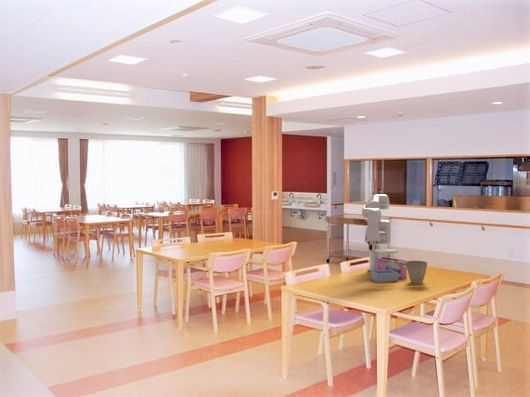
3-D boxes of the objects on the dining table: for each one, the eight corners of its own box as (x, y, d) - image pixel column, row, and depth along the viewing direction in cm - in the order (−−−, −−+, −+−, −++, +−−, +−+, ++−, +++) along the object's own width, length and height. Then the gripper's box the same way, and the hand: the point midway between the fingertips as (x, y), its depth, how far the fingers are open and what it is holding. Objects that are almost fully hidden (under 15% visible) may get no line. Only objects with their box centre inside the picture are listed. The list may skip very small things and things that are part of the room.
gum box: (375, 274, 405) (375, 257, 404) (381, 273, 410) (381, 256, 410) (401, 279, 387) (401, 261, 387) (407, 277, 393) (407, 260, 392)
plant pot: (428, 282, 375) (429, 261, 375) (424, 286, 362) (425, 264, 361) (408, 280, 382) (408, 259, 382) (403, 284, 369) (404, 262, 368)
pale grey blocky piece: (367, 252, 383) (368, 241, 382) (391, 251, 387) (391, 241, 386) (374, 254, 372) (374, 243, 372) (398, 253, 376) (398, 243, 376)
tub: (370, 280, 384) (370, 270, 384) (391, 279, 388) (391, 270, 388) (376, 283, 374) (377, 273, 373) (397, 282, 377) (398, 272, 377)
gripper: (380, 224, 382) (379, 249, 383) (360, 225, 378) (360, 249, 379) (384, 226, 374) (384, 250, 375) (364, 226, 371) (364, 251, 372)
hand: (372, 249), depth 377 cm, fingers closed on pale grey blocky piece
